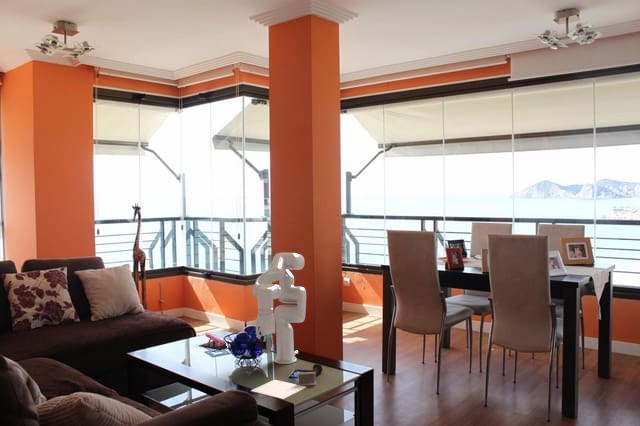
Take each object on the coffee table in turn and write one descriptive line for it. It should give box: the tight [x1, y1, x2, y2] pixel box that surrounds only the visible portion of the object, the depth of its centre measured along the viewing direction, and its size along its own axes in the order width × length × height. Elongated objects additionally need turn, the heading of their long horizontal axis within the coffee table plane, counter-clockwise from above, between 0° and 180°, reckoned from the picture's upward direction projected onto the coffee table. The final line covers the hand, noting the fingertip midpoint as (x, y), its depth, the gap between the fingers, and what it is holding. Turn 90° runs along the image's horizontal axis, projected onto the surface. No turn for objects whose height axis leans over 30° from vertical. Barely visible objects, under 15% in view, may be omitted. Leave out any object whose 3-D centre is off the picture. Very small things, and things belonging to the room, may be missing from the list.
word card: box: [296, 371, 317, 386], centre depth 272 cm, size 1×9×6 cm, turn 95°
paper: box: [250, 379, 307, 400], centre depth 267 cm, size 18×20×1 cm
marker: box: [261, 334, 272, 354], centre depth 276 cm, size 3×3×10 cm
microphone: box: [311, 363, 323, 376], centre depth 283 cm, size 5×5×19 cm
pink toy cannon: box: [198, 332, 228, 351], centre depth 346 cm, size 15×20×7 cm
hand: (266, 347), depth 276 cm, fingers closed on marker, 3 cm apart
